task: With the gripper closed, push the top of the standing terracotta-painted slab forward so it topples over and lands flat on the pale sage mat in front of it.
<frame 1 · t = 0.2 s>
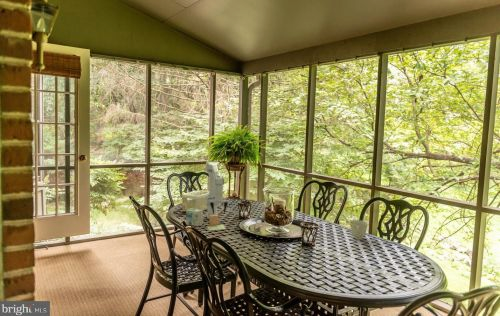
hand: (218, 213, 249), 10 cm above the table, fingers open, 7 cm apart
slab: (214, 224, 254), on the table
teacup: (358, 238, 225), on the table
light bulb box: (194, 224, 256), on the table
mat: (216, 227, 247), on the table
storage basket: (197, 209, 299), on the table
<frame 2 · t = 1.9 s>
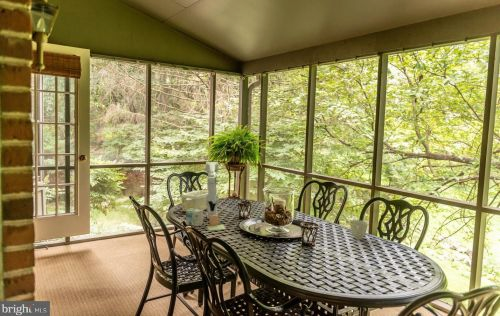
hand: (212, 211, 258), 9 cm above the table, fingers closed
nothing on the table moved.
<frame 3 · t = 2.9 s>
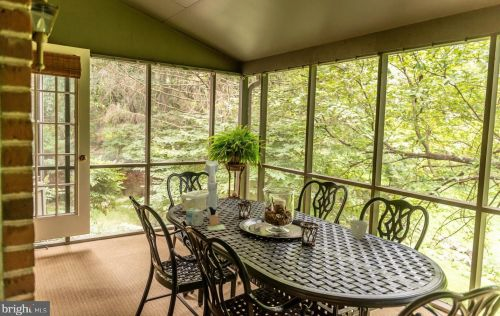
hand: (212, 216, 257), 5 cm above the table, fingers closed
nothing on the table moved.
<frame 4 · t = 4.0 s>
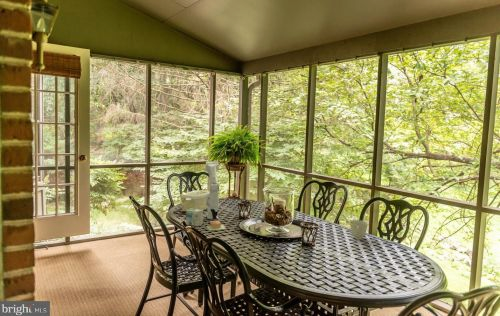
hand: (214, 219, 251), 5 cm above the table, fingers closed
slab: (214, 222, 253), point 2 cm above the table, tilted 90°, touching mat
everything else where it was.
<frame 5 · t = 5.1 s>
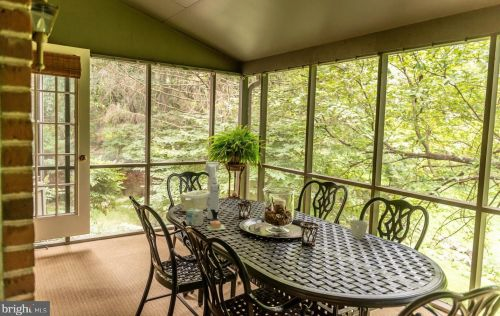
hand: (214, 219, 250), 5 cm above the table, fingers closed
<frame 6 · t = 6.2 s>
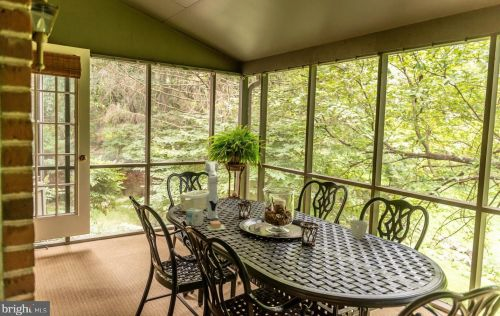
hand: (213, 210, 255), 10 cm above the table, fingers closed
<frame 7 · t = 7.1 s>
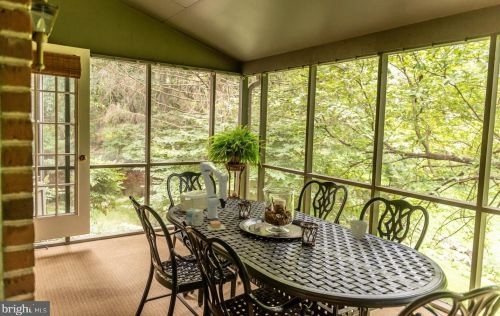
hand: (223, 208, 260), 10 cm above the table, fingers closed
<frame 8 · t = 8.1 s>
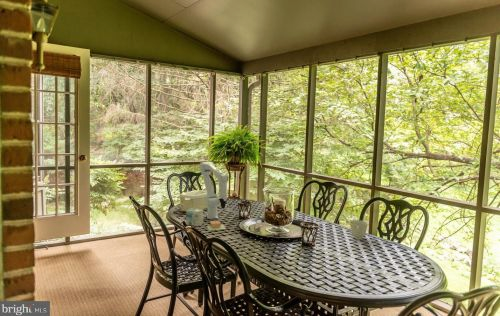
hand: (223, 208, 260), 10 cm above the table, fingers closed
at the end: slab tilted 90°; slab inside the target area (4.6 cm from its centre), point 1.8 cm above the table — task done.
